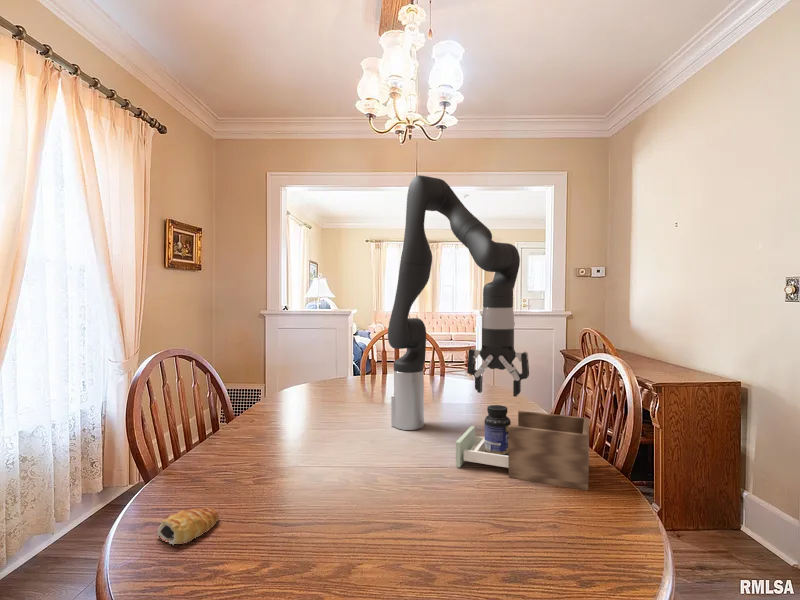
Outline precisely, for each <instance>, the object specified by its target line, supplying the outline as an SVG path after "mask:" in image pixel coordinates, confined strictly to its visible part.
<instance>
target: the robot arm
mask: <svg viewBox="0 0 800 600" xmlns="http://www.w3.org/2000/svg"><path fill="white" fill-rule="evenodd" d="M406 196H407V197H406V206H405V207H406V209H405V210H406V211H405V212H406V213H405V227H404V234H403V235H404V237H403V242H402V243H403V244H402V245H403V246H402V251H401V256H400V263H399V268H398V269H399V270H398V277H397V285H396V291H395V296H394V301H393V306H392V309H391V313H390V314H391V315H390V318H389V322H388V328H387V340H388V341H387V342H388V343H389V345H390V347H391V348H393V349H395V350H402V349H403V350H404V349H406V352H405V353H404V354H403V355H402V356H401V357H398V358H397V359H395V361H393V394H392V395H391V396H390V397H391V399H390V400H391V401H390V407H391V408H390V410H391V414H390V415H391V427H393V428H396V429H399V430H404V431H413V430H420V429H422V428H424V426H425V425H424V424H425V423H424V422H425V416H424V415H425V412H424V411H425V409H424V408H425V407H424V406H425V404H424V403H425V402H424V401H425V400H424V397H425V396H424V395H425V393H424V391H425V390H424V389H425V388H424V387H425V386H424V384H425V383H424V381H425V380H424V367H425V366H424V365H425V362H426V351H427V350H426V349H427V348H426V347H427V329H426V325H425V323H424V321H423V320H422V319H421V318H417V317H409V314H410V311H411V308H412V306H413V304H414V302H415V301H416V299H417V298H418V297H419V295H420V294H421V293H422V292H423V290H424V289H425V287H426V286H427V284H428V283H429V279H430V277H431V271H432V266H433V265H432V264H433V254H432V250H431V246H430V243H429V241H428V238H427V235H426V231H425V217H426V211H429V212H438V213H440V214H441V215H443V216H444V217H446V218H447V219H448V221H449V225H450V229H451V231H452V234H453V235H454V236H455V237H456V238H457V239H458V241H459V242H461V244H462V245H463V246H464V247H465V248H466V249H467V250H468V252H469V253H470V255H471V257H472V259H473V261H474V263H475V264H476V265H477V267H479V268H480V269H482V270H483V271H485V272H490V273H494V276H493V279H492V281H490V282H488V283H486V284H484V286H483V289H482V313H481V348H480V349H475V348H471V349H469V350H468V355H467V366H466V367H467V370H466V372H467V374H469V375H472V376H474V389H475V391H476V392H477V393H478V394H481V393H482V392H483V373H484V372H485V371H486V370H487V368H489V369H490V370H495V369H498V370H507V372H508V373H509V374H510V375H511V376H512V378H513V381H512V383H513V384H512V385H513V387H512V389H513V390H512V391H513V392H512V395H513V397H514V398H515V397H516V398H517V397H518V396H519V395H520V394H521V391H522V389H521V388H522V387H521V386H522V380H526V379H528V378H529V376H530V366H529V353H528V352H527V351H524V352H523V351H522V352H516V351H515V326H516V325H515V323H516V322H515V314H514V288H515V285H516V282H517V277H518V273H519V269H520V265H521V264H520V263H521V258H520V253H519V250H518V249H517V247H516V246H515V245H514V244H511V243H508V242H507V243H506V242H498V241H497V242H496V241H494V240H493V234H492V232H491V230H490V229H489V227H487V226H486V224H484V223H482V221H480V219H478V217H476V216H475V215H474V214H473V213H472V212H470V210H468V209H467V207H466V206H465V205H464V204H463V202H462V201H461V200H460V198H459V197H458V196H457V194H456V193H455V192H454V190H453V189H452V188H451V186H450V185H449V184H448V183H447V182H446V180H443V179H441V178H438V177H433V176H427V175H416V176H414V177H413V178H412V179H411V181H410V183H409V185H408V190H407V195H406ZM479 356H480V357H481V360H482V361H483V362H482V364H480V366H479V367H478V368H477V369H475V368H476V359H478V357H479ZM516 358H517V359H518V362H520V363H521V373H520V372H519V371H518V369H517V368H516V365H515V364H514V363H513V362H514V360H515V359H516Z"/></svg>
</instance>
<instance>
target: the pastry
mask: <svg viewBox="0 0 800 600" xmlns="http://www.w3.org/2000/svg"><path fill="white" fill-rule="evenodd" d="M217 521H218V522H219V512H218V511H217V510H215V508H214V507H208V506H206V507H202V508H200V507H198V508H191V509H188V510H186V509H185V510H179V511H178V513H175V514H171V515H169V516H168V517H167V518H166V519H164V520H162V521H161V524H160V525H159V526H158V529H157V536H158V537H159V536H161V537H162V538H164V539H166V540H169V543H168V544H169V545H171V544H172V546H175V545H174V544H180V543H184V542H187V541H190V540H191V541H192V540H195V539H197V538H196V537H198V536H199V535H201V534H202V533H204V532H205V531H207V530H208V529H209V528H211V527H212V526H213V525H214V524H216V525H217V523H218V522H217ZM216 522H217V523H216ZM207 532H208V531H207ZM194 538H195V539H194Z"/></svg>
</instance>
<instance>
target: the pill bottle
mask: <svg viewBox="0 0 800 600" xmlns="http://www.w3.org/2000/svg"><path fill="white" fill-rule="evenodd" d="M486 409H487V414H488V415H487V416H485V418H484V421H483V422H484V437H485V452H487V453H493V454H500V455H507V456H508V426H509V425H511V418H510V417H508V416H507V414H508V407H507V406H505V405H499V404H492V405H488V406H487V408H486Z"/></svg>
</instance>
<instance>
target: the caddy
mask: <svg viewBox="0 0 800 600" xmlns="http://www.w3.org/2000/svg"><path fill="white" fill-rule="evenodd" d="M517 414H518V415H517V418H518V419H517V421H518V422H517V425H509V426H508V458H509V468H508V478H512V479H518V480H522V481H528V482H529V481H530V482H534V483H536V482H537V483H542V484H547V485H553V486H558V487H564V488H565V487H566V488H571V489H577V490H582V491H589V474H590V473H589V472H590V418H589V417H583V416H582V417H581V416H573V415H572V416H571V415H563V414H554V413H544V412H543V413H542V412H537V411H536V412H534V411H525V410H518V413H517Z"/></svg>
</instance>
